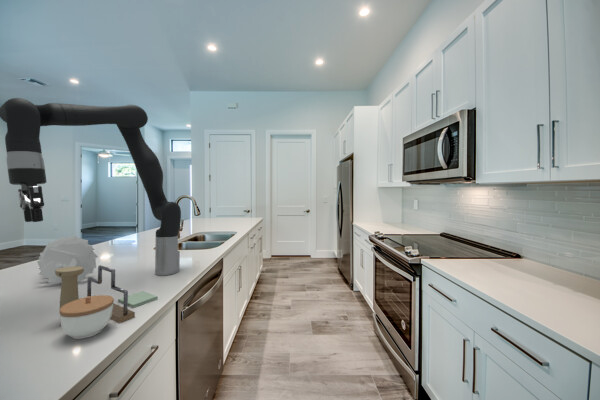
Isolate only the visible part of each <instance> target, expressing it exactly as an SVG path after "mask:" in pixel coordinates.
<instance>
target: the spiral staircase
mask: <svg viewBox="0 0 600 400" xmlns="http://www.w3.org/2000/svg"><path fill="white" fill-rule="evenodd" d="M94 250H95V248H93V245H90V244H89V240H88V239H84V238H82V237H81V238H80V237H78V235H74V236H67V237H65V236H63V235H62V236H61V237H59V238H56V239H55V240H53V241H48V243H47V244H46V246H45V247H44V249H43V251H42V252H40V253H39V255H40V256H38V259H39V260H38V261H36V262H37V264H38V266H39V267H38V270H40V272H38V275H40V276H42V277H43V278H46V279H48V281H47V283H48V284H49V283H53V284H56V283H57V284H61V282H62V280H61V277H58V276H57V275H56V274H55V270H56V269H59V268H63V267H73V266H78V267H83V268H84V272H83V273H82V274H80V275H78V278H77V280H78V282H81V281H82V280H83V279H85V277H87V275H88V274H90V275H91V274H93V272H94V271H95V269H96V268H97V261H96V260H97V258H99V256H98V255H97V254H96V253H95V252H94Z"/></svg>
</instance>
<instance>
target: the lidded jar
mask: <svg viewBox="0 0 600 400" xmlns="http://www.w3.org/2000/svg"><path fill="white" fill-rule="evenodd" d="M114 301H115V298H114V297H113V296H112V295H103V294H102V295H101V294H99V295H95V296H94V295H91V296H88V297H87V296H85V297H81V298H79V299H77V300H74V301H72V302H69V303H67V304H65V305H63V306H62V307H61V308H60V307H59V313H58V314H59V318H60V319H59V320H60V326H61V330H62V331H63V332H64V333H65V334H66V335H67V336H69V337H72V339H73V340H74V339H75V340H82V339H88V338H90V337H93V336H96V335H98V334H99V333H101V332H102V331H103V330H104V328H106V326H107V325H108V323H109V322H110V320H111V319H110V318H111V316H112V312H113V303H114Z"/></svg>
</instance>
